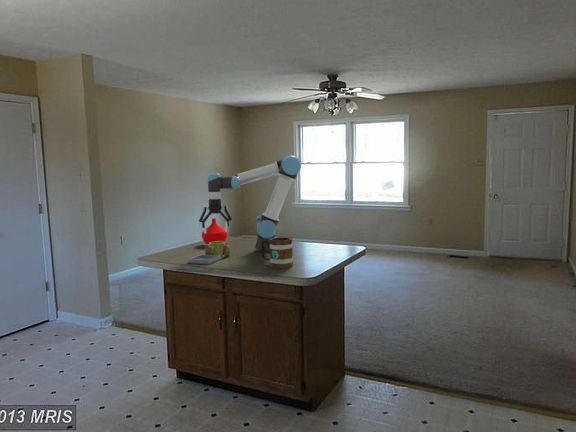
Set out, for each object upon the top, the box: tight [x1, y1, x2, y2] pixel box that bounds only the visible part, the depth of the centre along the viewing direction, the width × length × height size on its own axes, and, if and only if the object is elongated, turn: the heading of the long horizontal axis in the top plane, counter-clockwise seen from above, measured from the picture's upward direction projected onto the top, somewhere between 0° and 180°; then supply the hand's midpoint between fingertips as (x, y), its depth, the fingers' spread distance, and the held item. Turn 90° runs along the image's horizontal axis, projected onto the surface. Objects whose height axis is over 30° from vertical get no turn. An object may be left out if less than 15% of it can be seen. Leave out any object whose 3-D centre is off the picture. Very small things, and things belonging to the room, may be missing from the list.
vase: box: [201, 218, 228, 244], centre depth 324 cm, size 18×18×19 cm
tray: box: [187, 253, 222, 265], centre depth 269 cm, size 14×14×2 cm
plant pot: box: [209, 241, 225, 257], centre depth 284 cm, size 9×9×9 cm
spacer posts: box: [204, 242, 231, 258], centre depth 284 cm, size 17×17×7 cm
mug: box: [261, 236, 294, 269], centre depth 253 cm, size 20×14×15 cm
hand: (215, 232), depth 283 cm, fingers open, 13 cm apart
